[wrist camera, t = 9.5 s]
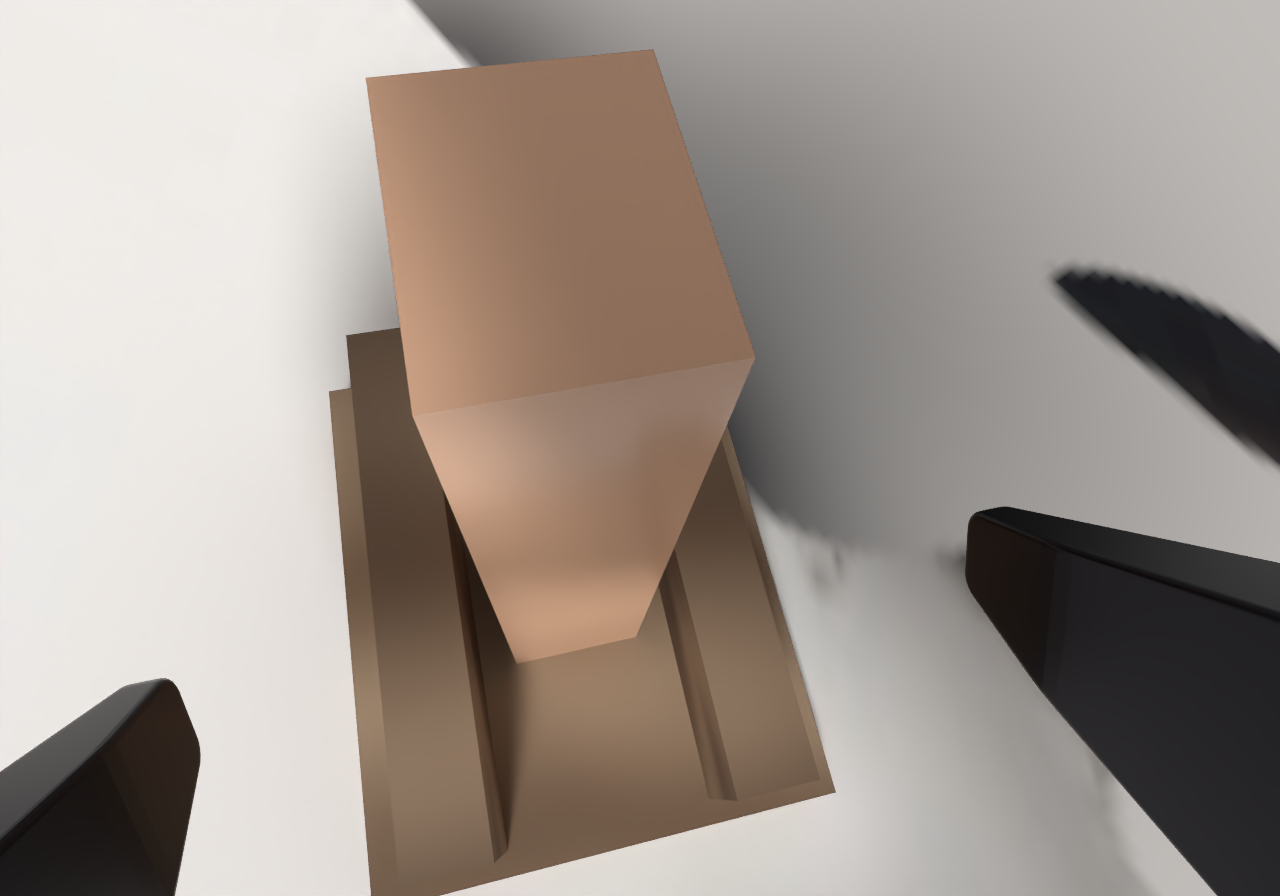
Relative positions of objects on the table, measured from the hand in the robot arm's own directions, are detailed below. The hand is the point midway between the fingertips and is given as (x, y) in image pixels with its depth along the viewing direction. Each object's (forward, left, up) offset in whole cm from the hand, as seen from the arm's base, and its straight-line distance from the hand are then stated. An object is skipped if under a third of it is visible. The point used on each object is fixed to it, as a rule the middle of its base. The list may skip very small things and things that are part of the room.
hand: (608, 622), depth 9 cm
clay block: (+3, +1, -10) cm, 10 cm away
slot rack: (+3, +1, -11) cm, 11 cm away
